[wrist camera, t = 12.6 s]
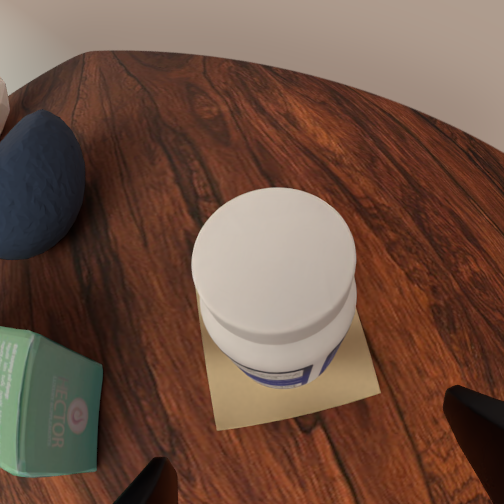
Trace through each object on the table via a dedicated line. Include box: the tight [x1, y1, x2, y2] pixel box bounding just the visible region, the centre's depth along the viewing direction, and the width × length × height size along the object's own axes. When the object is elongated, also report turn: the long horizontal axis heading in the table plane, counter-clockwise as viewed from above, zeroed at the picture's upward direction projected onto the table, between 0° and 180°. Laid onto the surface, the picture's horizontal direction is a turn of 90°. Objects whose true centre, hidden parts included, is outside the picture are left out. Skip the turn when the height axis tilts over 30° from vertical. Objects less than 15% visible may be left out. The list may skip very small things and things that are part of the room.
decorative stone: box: [0, 109, 85, 260], centre depth 20 cm, size 12×12×10 cm
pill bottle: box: [192, 188, 357, 389], centre depth 13 cm, size 6×6×10 cm
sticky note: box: [196, 289, 381, 431], centre depth 18 cm, size 9×9×1 cm
